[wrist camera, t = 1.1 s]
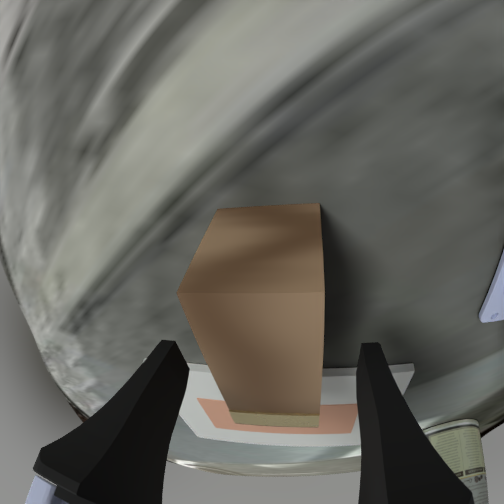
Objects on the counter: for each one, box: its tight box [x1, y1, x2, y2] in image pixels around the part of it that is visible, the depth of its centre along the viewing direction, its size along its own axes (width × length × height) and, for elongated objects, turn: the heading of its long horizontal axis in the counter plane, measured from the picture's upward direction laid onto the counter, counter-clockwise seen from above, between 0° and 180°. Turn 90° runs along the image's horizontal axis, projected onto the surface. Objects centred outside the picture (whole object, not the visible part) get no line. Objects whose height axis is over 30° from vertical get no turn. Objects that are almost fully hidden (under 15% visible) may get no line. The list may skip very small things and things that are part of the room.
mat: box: [143, 358, 415, 446], centre depth 22 cm, size 18×14×1 cm
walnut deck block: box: [177, 203, 325, 428], centre depth 13 cm, size 4×9×5 cm, turn 9°
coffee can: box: [422, 419, 488, 504], centre depth 19 cm, size 10×10×14 cm
